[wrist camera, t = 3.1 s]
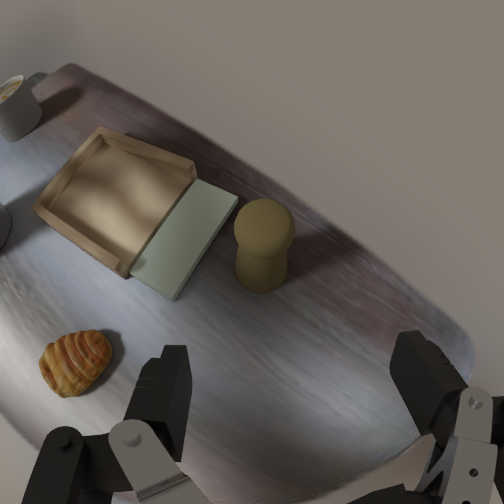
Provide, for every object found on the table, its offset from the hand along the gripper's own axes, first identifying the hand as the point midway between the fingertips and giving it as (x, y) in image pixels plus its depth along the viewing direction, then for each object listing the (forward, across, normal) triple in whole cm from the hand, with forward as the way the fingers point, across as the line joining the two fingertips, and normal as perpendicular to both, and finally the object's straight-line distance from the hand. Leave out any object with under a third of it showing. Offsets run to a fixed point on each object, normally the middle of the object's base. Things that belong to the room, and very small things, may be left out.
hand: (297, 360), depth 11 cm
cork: (+24, 0, -7) cm, 25 cm away
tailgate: (+27, -11, -2) cm, 29 cm away
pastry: (+16, -22, -15) cm, 31 cm away
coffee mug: (+47, -49, +17) cm, 70 cm away
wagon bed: (+30, -20, +1) cm, 36 cm away
